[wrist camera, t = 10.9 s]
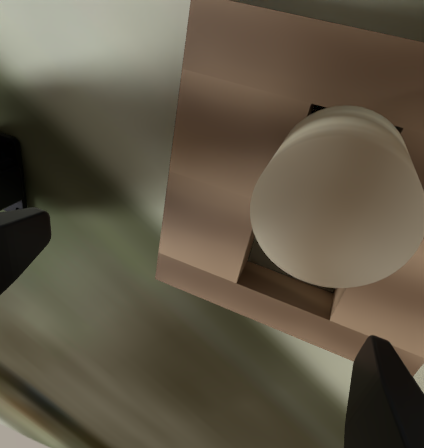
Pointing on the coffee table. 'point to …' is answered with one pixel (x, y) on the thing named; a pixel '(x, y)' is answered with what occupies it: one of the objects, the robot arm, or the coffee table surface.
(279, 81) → the keyhole board
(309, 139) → the peg
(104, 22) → the coffee table surface
